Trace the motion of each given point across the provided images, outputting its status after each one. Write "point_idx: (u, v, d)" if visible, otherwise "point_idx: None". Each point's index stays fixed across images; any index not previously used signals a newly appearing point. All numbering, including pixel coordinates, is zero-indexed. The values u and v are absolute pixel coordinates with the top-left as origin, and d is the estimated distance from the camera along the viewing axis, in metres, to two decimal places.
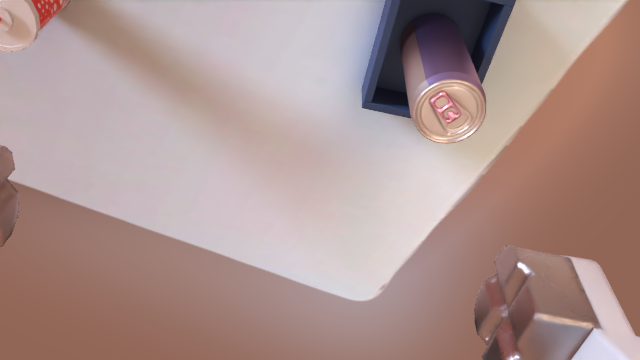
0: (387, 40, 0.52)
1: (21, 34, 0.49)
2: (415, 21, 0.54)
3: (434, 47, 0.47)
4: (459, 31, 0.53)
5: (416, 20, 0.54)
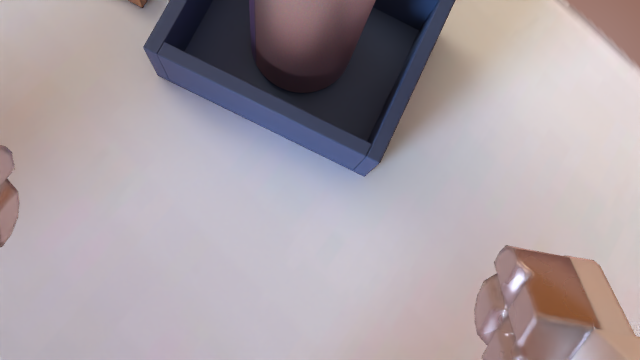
0: (256, 90, 0.29)
1: None
2: (254, 57, 0.32)
3: None
4: None
5: (253, 55, 0.32)
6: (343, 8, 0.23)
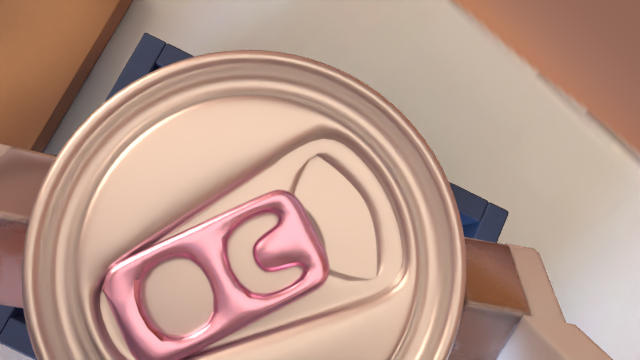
0: None
1: None
2: None
3: None
4: None
5: None
6: None
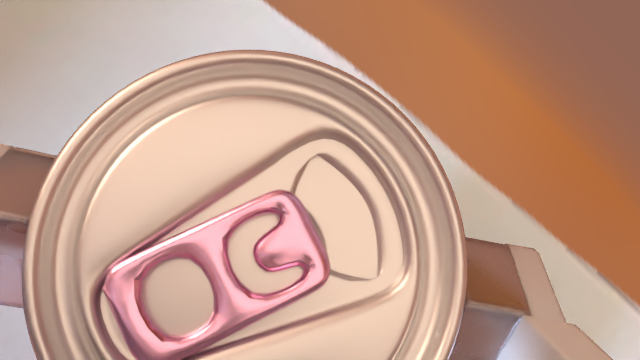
0: None
1: None
2: None
3: None
4: None
5: None
6: None
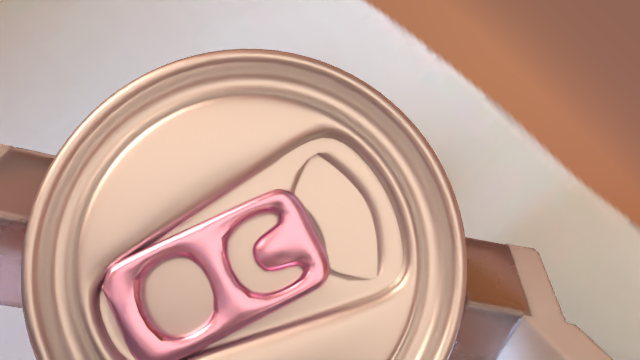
0: None
1: None
2: None
3: None
4: None
5: None
6: None
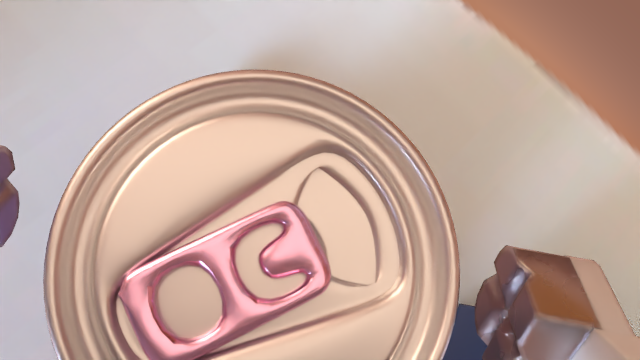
0: None
1: None
2: None
3: None
4: None
5: None
6: None
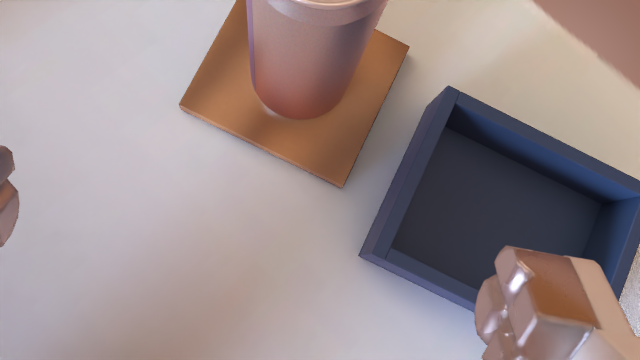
0: None
1: None
2: (253, 85, 0.33)
3: None
4: None
5: (252, 83, 0.33)
6: (338, 49, 0.23)
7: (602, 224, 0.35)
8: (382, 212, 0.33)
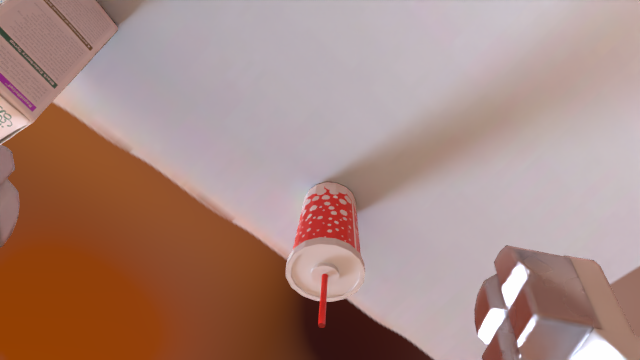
0: None
1: (349, 265, 0.43)
2: None
3: None
4: None
5: None
6: None
7: None
8: None
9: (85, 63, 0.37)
